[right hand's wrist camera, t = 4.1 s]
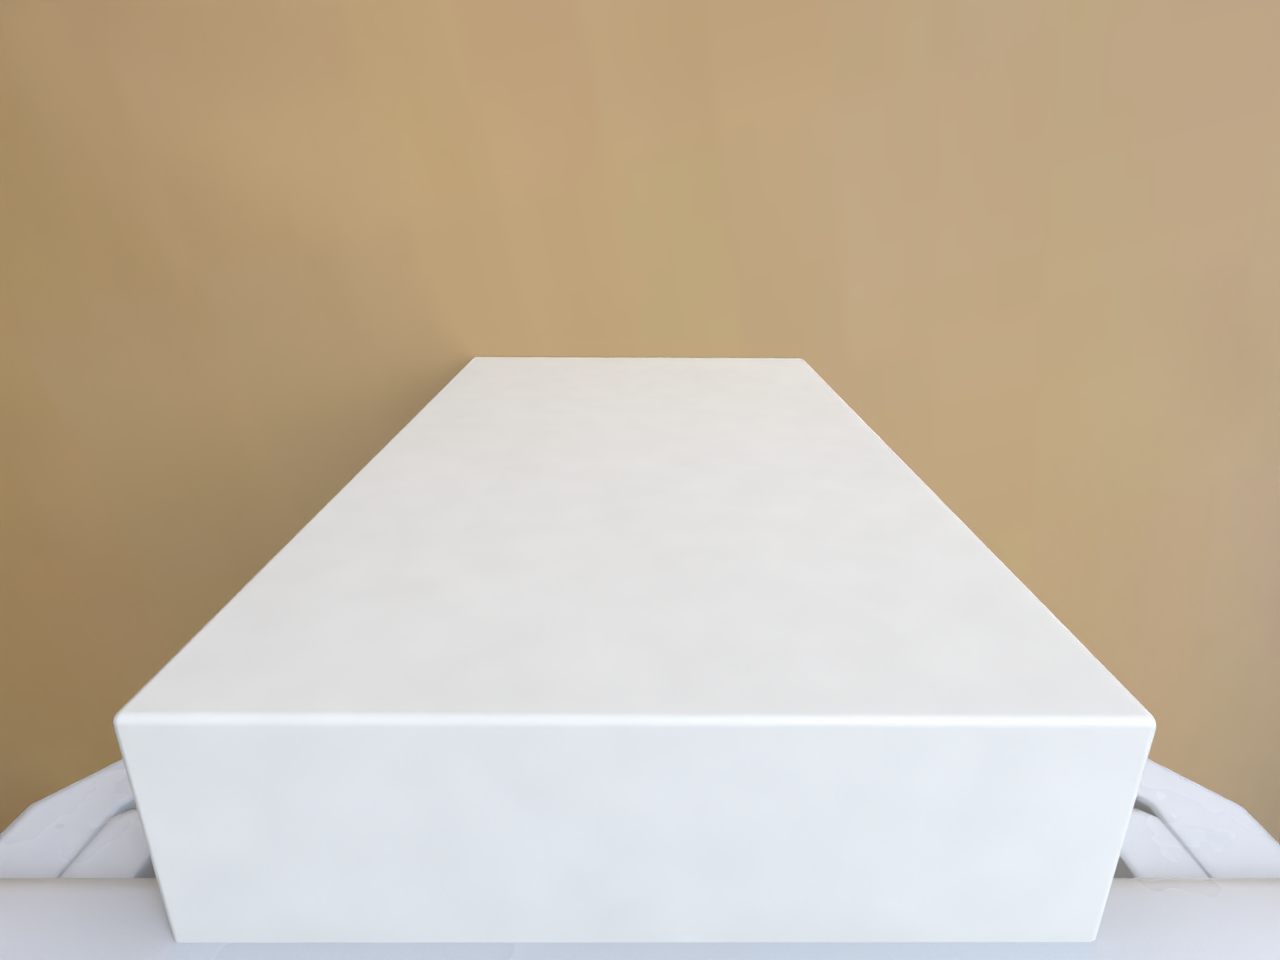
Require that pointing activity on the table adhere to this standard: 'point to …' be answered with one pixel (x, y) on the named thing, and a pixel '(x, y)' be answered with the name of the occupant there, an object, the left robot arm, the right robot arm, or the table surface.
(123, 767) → the right robot arm
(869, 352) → the table surface
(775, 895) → the bar
